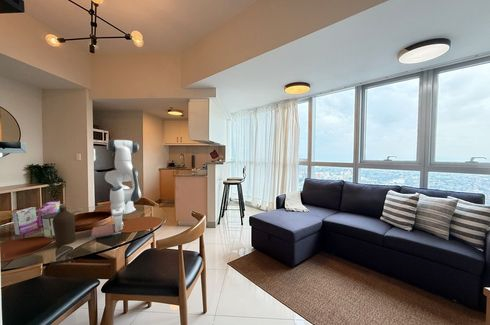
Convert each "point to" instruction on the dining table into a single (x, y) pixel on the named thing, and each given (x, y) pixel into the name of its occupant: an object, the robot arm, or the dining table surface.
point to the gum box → (47, 210)
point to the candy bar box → (25, 220)
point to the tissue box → (49, 224)
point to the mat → (103, 235)
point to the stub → (117, 228)
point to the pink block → (103, 230)
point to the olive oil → (64, 227)
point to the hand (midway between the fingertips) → (119, 227)
